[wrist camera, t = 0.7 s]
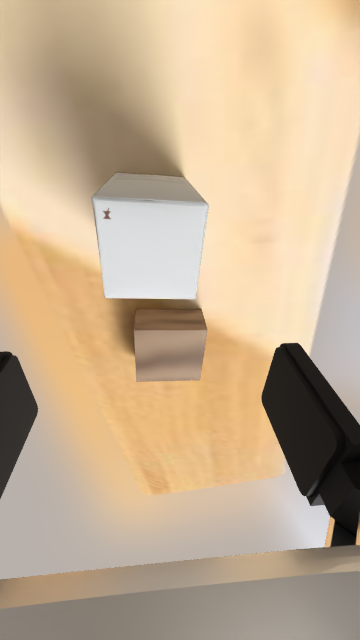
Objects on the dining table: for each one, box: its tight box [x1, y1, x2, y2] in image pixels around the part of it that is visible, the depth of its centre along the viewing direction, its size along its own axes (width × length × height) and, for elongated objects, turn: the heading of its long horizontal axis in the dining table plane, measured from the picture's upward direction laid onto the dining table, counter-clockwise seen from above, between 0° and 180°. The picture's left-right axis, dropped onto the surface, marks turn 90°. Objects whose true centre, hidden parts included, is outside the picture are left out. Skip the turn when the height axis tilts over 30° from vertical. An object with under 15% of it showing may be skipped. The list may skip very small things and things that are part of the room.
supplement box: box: [92, 173, 209, 299], centre depth 23 cm, size 7×7×13 cm
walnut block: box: [134, 309, 207, 382], centre depth 36 cm, size 9×9×5 cm
